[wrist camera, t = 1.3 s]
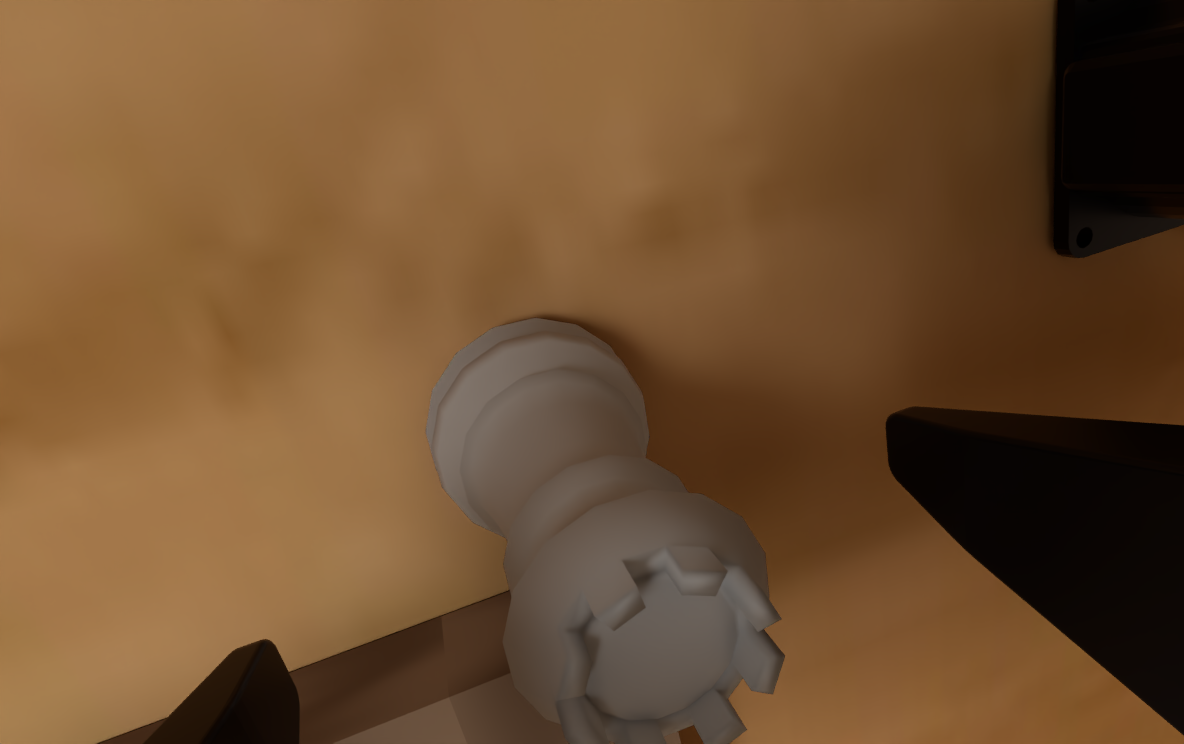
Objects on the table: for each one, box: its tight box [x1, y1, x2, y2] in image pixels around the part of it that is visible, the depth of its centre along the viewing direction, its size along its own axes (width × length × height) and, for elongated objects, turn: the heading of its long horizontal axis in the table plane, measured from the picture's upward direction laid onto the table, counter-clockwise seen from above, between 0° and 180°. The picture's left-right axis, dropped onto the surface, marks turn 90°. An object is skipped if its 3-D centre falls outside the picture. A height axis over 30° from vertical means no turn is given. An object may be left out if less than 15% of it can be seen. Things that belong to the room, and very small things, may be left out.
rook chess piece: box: [426, 318, 785, 744], centre depth 10 cm, size 4×4×8 cm
